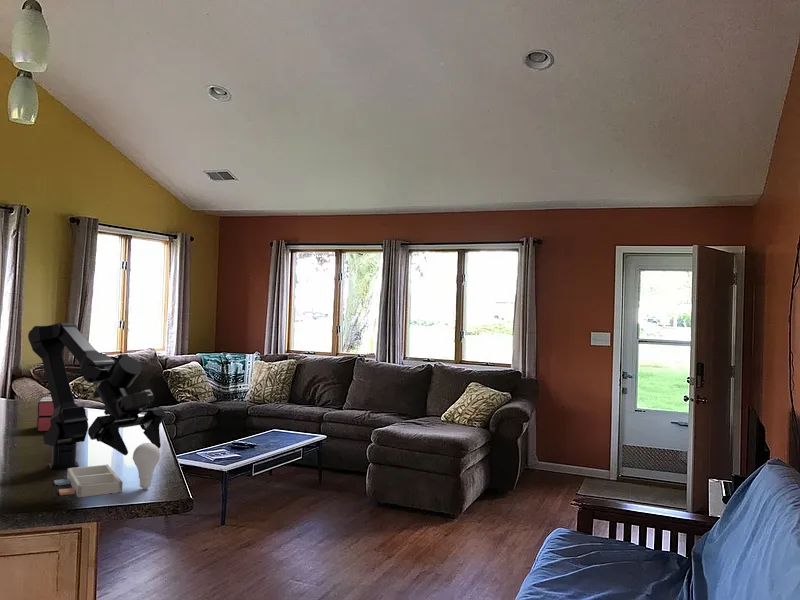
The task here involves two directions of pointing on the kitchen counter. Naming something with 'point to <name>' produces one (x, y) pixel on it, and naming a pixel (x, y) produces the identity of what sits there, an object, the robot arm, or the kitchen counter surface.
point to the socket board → (90, 481)
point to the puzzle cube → (45, 413)
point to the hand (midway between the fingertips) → (143, 451)
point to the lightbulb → (146, 462)
